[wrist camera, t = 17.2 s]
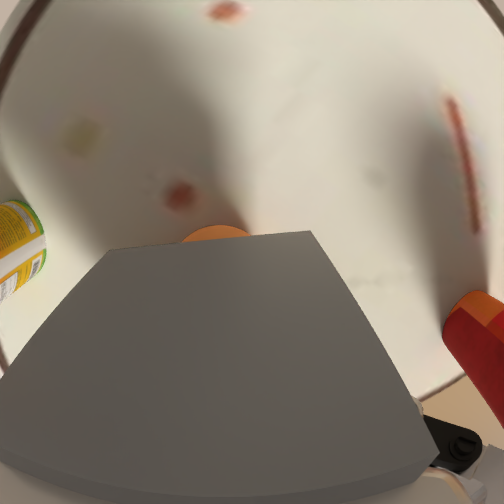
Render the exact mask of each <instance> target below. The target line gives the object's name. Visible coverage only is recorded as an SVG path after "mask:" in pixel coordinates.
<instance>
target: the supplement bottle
mask: <svg viewBox="0 0 504 504" xmlns="http://www.w3.org/2000/svg"><path fill="white" fill-rule="evenodd" d="M45 258H46V239H45V234H44V230H43V227H42V225H41V223H40V220H39V219H38V217H37V215H36V214H35V212H34V211H33V210H32V209H31V208H30V207H29V206H28V205H27V204H25V203H23V202H21V201H18V200H11V201H7V202H4V203H1V204H0V304H1V303H2V302H3V301H4V300H5V299H6V298H8V297H9V296H10V295H11V294H12V293H14V292H15V291H16V290H17V289H19V288H20V287H21V286H22V285H23V284H25V283H26V282H27V281H29V280H30V279H31V278H32V277H33V276H35V275H36V274H37V273H38V272H39V271H40V270H41V268H42V267H43V264H44V262H45Z"/></svg>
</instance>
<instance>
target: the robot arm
mask: <svg viewBox="0 0 504 504" xmlns="http://www.w3.org/2000/svg"><path fill="white" fill-rule="evenodd" d="M411 397H412V399H413V400H414V402H415V404H416V406H417V408H418V410H419V412H420V414H421V416H422V418H423V420H424V422H425V424H426V426H427V428H428V430H429V432H430V434H431V436H432V438H433V440H434V442H435V444H436V446H437V448H438V450H439V452H440V453H439V454H438V455H437V457H436V458H435V459H434V460H433V462H432V463H431V464H430V465H429V466H428V467H427V469H426V470H425V471H424V472H423V473H422V474H421V476H420V477H419V478H418V479H417V480H416V481H415V482H412V483H410V484H407V485H404V486H401V487H398V488H395V489H392V490H389V491H386V492H383V493H379V494H376V495H373V496H369V497H365V498H362V499H358V500H354V501H350V502H345V503H341V504H504V450H502V449H499V448H497V447H494V446H493V445H490V444H488V446H487V447H486V446H484V445H482V440H481V439H480V437H479V435H477V433H475V432H474V431H472V430H470V429H467V428H463V427H460V426H457V425H454V424H451V423H447V422H444V421H441V420H438V419H435V418H432V417H430V416H427V415H424V414H423V407H422V405H421V403H420V402H419V401H418V400H417V399H416V398H415V397H413V396H411ZM0 504H118V503H113V502H109V501H105V500H101V499H97V498H94V497H90V496H87V495H83V494H80V493H77V492H74V491H71V490H68V489H65V488H62V487H59V486H56V485H53V484H51V483H48V482H45V481H43V480H40V479H38V478H36V477H33V476H31V475H29V474H26V473H24V472H22V471H20V470H17V469H15V468H13V467H11V466H9V465H7V464H5V463H3V462H1V461H0Z"/></svg>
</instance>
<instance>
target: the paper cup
mask: <svg viewBox="0 0 504 504" xmlns="http://www.w3.org/2000/svg"><path fill="white" fill-rule="evenodd" d="M442 338H443V342H444V344H445V345H446V347H447V348H448V350H449V351H450V352H451V354H452V355H453V356H454V358H455V359H456V360H457V362H458V363H459V365H460V366H461V367H462V369H463V370H464V371H465V373H466V374H467V375H468V377H469V378H470V380H471V381H472V382H473V384H474V385H475V387H476V388H477V389H478V391H479V392H480V394H481V395H482V397H483V398H484V399H485V401H486V402H487V404H488V405H489V406H490V408H491V410H492V411H493V413H494V414H495V416H496V417H497V419H498V420H499V422H500V424H501V426H502V427H503V428H504V304H503V303H502V302H500V301H499V300H497V299H495V298H494V297H492V296H490V295H488V294H487V293H485V292H483V291H480V290H476V291H472V292H470V293H468V294H467V295H465V296H464V297H463V298H462V299H461V300H460V301H459V302H458V303H457V304H456V305H455V306H454V308H453V309H452V311H451V312H450V314H449V316H448V318H447V320H446V322H445V325H444V328H443V333H442Z"/></svg>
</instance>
